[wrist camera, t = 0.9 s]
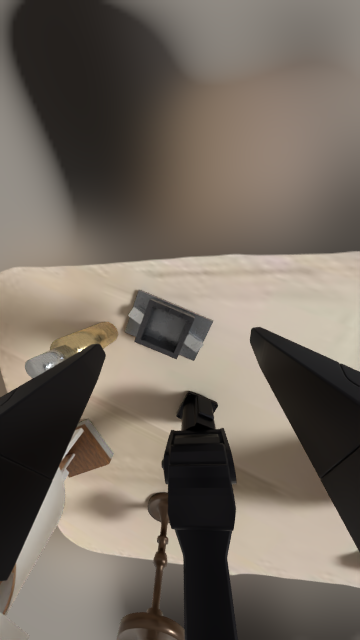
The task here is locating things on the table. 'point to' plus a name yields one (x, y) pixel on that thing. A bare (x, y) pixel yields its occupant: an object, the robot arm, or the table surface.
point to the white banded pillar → (51, 516)
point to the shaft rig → (167, 326)
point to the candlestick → (152, 627)
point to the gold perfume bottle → (71, 347)
